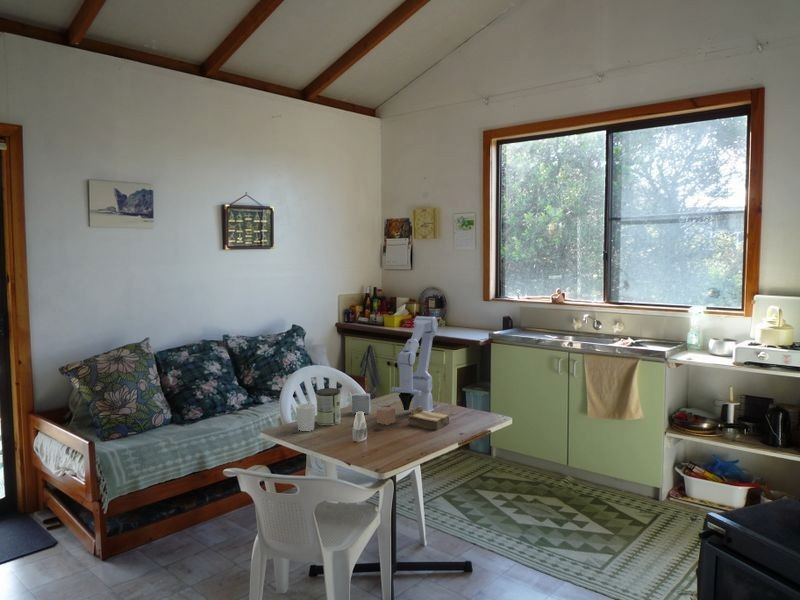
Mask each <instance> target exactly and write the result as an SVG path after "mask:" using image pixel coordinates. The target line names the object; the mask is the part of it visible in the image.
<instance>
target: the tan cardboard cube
mask: <svg viewBox="0 0 800 600" xmlns="http://www.w3.org/2000/svg"><path fill="white" fill-rule="evenodd" d="M376 423H377V424H379V423H381V424H380V425H384V424H386V425H385V426H389V425H391V423H392V424H395V423H396V408H395V407H394V408H393V407H390V406H383V407H381V408H378V409H376Z"/></svg>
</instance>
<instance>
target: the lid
mask: <svg viewBox="0 0 800 600" xmlns="http://www.w3.org/2000/svg"><path fill="white" fill-rule="evenodd" d="M410 411H411V414H408V418H409V417H412V418H418V419H424V420H429V421H435V422H437V421H440V420H442V419H444V418H446V417H449V418H450V414H445V413H440V412H434V411H431V412H429V411H423V406H418V407H416V408H413V407H412V408H411V409H410Z"/></svg>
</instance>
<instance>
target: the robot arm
mask: <svg viewBox="0 0 800 600" xmlns="http://www.w3.org/2000/svg"><path fill="white" fill-rule="evenodd" d="M438 326H439V324H438V319H437V317H436V316H422V315H421V316H419V315H416V316H415V318H414V319H413V328H414V329H413V332H412V336H411V337H410V338H409V339H407V340H406V343H405V345H404V347H403V349H402V351H399V352H398V353H397V357H396V362H397V367H398V370H399V387H398V386H392V387H391V393H399V394H398V397H399V399H400V401H401V404H402V408H403V411H406V412H407V411H409V412H408V413H411V410H410V406H411V403H412V409H413V408H416V407H418V406H423V411H429V412H434V411H435V409H434V408H433V394H432V390H433V377H432V375H431V374H430V373H429V366H430V359H431V353H432V352H431V351H432V346H433V340H434V337H435V336H436V335H437V332H438ZM420 340H421V342H420ZM419 342H420V343H421V344H420V343H419ZM419 347H420V348H419ZM418 349H420V350H419V355H418V361H417V368H416V371H414V370H413V367H414V365H415V361H416V356H417V355H416V354H417V351H418ZM413 371H414V372H413Z"/></svg>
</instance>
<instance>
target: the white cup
mask: <svg viewBox="0 0 800 600" xmlns="http://www.w3.org/2000/svg"><path fill="white" fill-rule="evenodd" d="M295 411H296V412H295V413H296V414H295V415H296V423H297V430H298V431H299V430H300V431H299V432H301V431H309V432H312V431H314V430H315V422H316V405H315V404H313V403H300V404H298V405H296V406H295ZM311 430H312V431H311Z"/></svg>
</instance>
